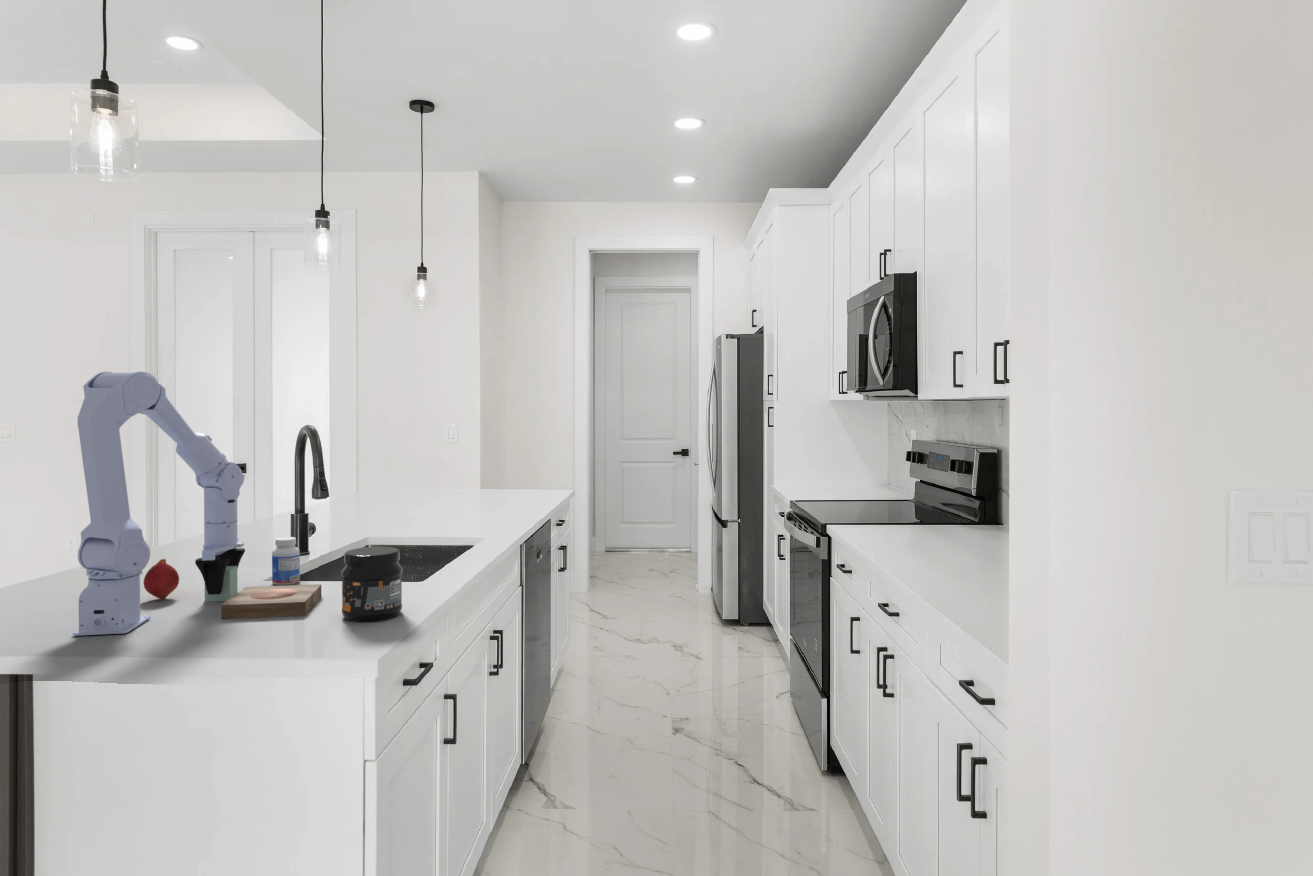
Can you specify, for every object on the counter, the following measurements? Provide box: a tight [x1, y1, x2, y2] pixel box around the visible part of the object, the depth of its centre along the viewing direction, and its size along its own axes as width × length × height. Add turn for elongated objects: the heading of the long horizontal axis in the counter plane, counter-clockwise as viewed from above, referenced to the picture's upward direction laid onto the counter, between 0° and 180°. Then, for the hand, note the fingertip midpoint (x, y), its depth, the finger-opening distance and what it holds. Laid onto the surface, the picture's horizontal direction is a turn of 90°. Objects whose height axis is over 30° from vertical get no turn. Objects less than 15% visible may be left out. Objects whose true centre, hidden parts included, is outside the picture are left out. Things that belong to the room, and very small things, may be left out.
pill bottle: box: [271, 536, 301, 586], centre depth 163 cm, size 6×5×10 cm
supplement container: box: [340, 546, 403, 623], centre depth 138 cm, size 10×10×12 cm
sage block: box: [204, 566, 238, 602], centre depth 149 cm, size 4×4×6 cm
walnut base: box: [220, 583, 322, 620], centre depth 143 cm, size 14×14×3 cm
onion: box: [143, 558, 180, 600], centre depth 148 cm, size 6×6×8 cm
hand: (221, 589), depth 149 cm, fingers open, 7 cm apart
